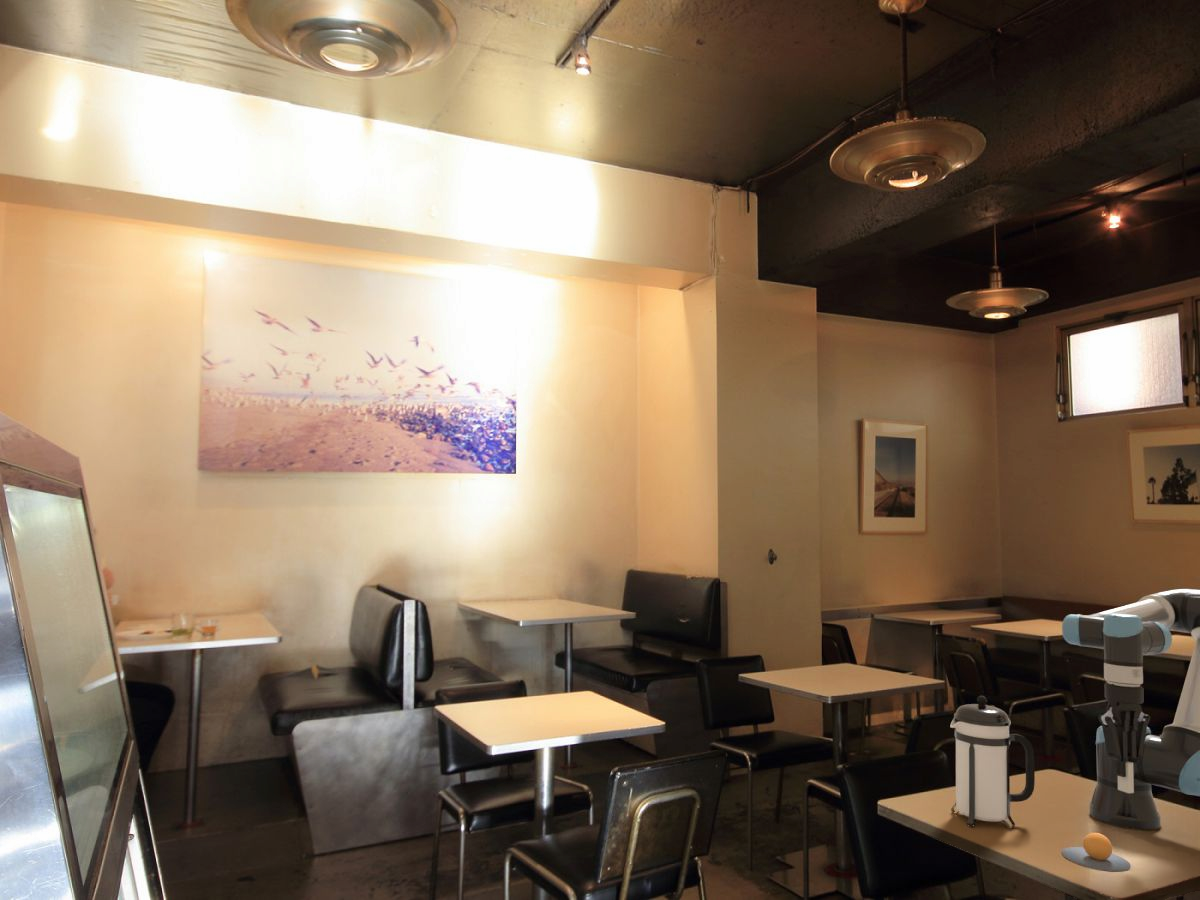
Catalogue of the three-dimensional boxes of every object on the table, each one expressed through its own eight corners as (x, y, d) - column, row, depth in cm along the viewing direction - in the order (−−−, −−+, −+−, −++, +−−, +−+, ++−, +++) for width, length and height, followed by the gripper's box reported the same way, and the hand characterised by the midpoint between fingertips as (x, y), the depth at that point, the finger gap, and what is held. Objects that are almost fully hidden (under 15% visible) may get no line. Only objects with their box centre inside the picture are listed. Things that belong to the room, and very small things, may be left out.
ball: (1073, 846, 185) (1089, 859, 187) (1095, 855, 180) (1111, 869, 181) (1084, 824, 187) (1099, 837, 188) (1106, 832, 182) (1122, 846, 183)
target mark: (1093, 845, 192) (1093, 844, 192) (1145, 868, 180) (1145, 867, 180) (1047, 850, 188) (1047, 849, 188) (1098, 873, 176) (1098, 872, 176)
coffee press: (1003, 837, 195) (1002, 705, 198) (938, 817, 208) (938, 693, 210) (1036, 822, 206) (1035, 698, 209) (972, 804, 219) (972, 687, 221)
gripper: (1116, 687, 184) (1118, 798, 182) (1161, 686, 188) (1163, 794, 186) (1087, 681, 192) (1088, 787, 189) (1130, 679, 196) (1132, 784, 193)
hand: (1125, 791), depth 188 cm, fingers closed
